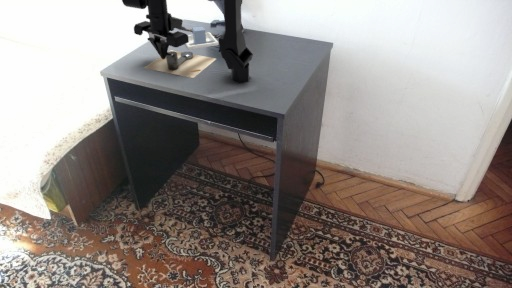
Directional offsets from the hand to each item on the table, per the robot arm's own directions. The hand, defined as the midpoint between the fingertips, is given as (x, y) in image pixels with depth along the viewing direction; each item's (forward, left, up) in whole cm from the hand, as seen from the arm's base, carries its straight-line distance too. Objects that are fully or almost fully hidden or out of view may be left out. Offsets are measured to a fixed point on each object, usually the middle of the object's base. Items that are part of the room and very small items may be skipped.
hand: (163, 58), depth 117 cm
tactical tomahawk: (+32, -21, -5) cm, 38 cm away
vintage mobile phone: (+25, -35, -4) cm, 43 cm away
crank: (+1, -6, -2) cm, 6 cm away
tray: (+17, -17, -4) cm, 24 cm away
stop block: (+17, -17, -4) cm, 24 cm away
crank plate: (+1, -6, -4) cm, 7 cm away
